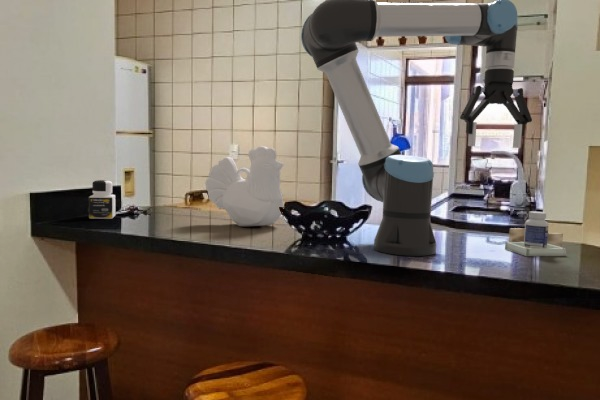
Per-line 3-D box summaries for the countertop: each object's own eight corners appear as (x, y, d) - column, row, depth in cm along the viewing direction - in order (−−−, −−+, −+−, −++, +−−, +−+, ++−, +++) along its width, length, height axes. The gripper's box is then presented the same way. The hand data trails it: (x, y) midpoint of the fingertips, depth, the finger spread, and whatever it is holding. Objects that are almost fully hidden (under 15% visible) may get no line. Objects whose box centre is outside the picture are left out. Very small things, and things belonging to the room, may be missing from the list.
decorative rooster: (291, 226, 166) (294, 147, 164) (266, 232, 152) (269, 145, 150) (226, 218, 178) (228, 145, 175) (197, 224, 163) (198, 143, 161)
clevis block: (528, 248, 140) (529, 233, 140) (508, 242, 149) (509, 228, 149) (561, 248, 142) (563, 233, 142) (540, 242, 151) (541, 228, 150)
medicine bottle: (88, 218, 167) (88, 181, 166) (92, 215, 174) (92, 179, 173) (112, 218, 168) (112, 181, 167) (115, 216, 175) (115, 180, 174)
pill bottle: (548, 252, 131) (552, 214, 130) (526, 251, 132) (528, 212, 131) (543, 248, 136) (546, 211, 135) (521, 247, 137) (524, 210, 137)
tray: (525, 256, 129) (526, 248, 129) (504, 249, 138) (505, 242, 137) (565, 255, 131) (566, 248, 131) (542, 248, 140) (543, 242, 140)
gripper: (463, 64, 139) (458, 145, 141) (549, 70, 143) (543, 148, 145) (450, 68, 146) (446, 145, 148) (532, 73, 150) (527, 148, 152)
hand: (494, 147), depth 147 cm, fingers open, 13 cm apart
